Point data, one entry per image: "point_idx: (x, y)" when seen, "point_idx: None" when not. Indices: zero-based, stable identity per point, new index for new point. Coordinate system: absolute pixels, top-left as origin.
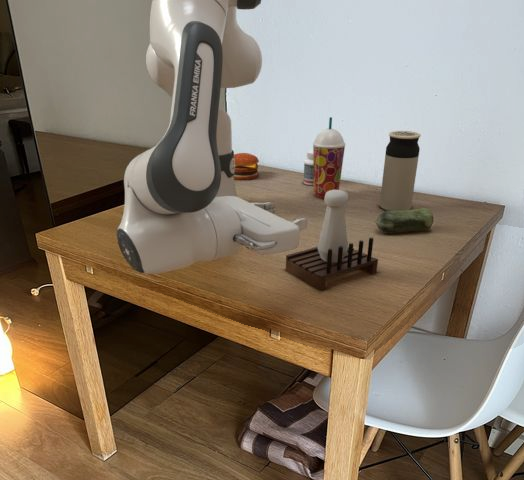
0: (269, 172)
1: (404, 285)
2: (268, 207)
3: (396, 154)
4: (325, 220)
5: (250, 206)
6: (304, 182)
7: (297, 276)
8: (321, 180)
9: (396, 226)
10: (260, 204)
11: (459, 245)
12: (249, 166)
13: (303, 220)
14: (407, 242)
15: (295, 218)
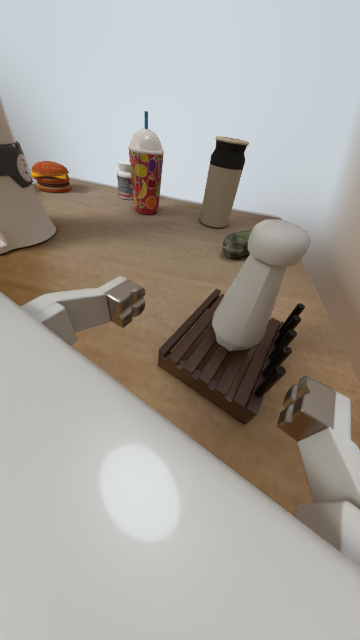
0: (82, 185)
1: (330, 361)
2: (125, 305)
3: (227, 164)
4: (244, 290)
5: (30, 380)
6: (120, 196)
7: (185, 383)
8: (143, 194)
9: (245, 251)
10: (90, 297)
11: (303, 268)
12: (58, 177)
13: (346, 415)
14: None
15: (311, 414)
